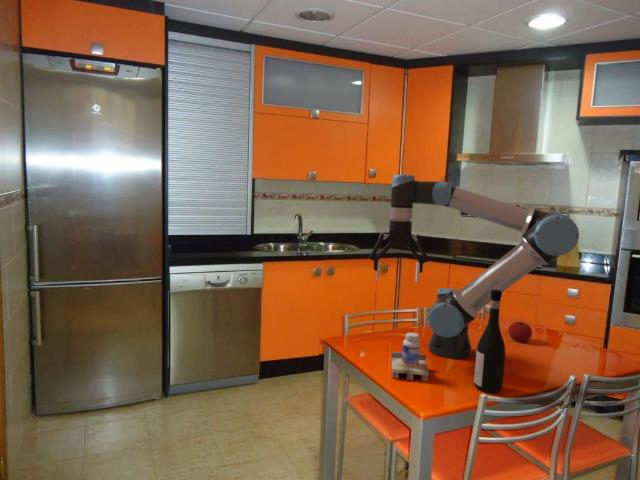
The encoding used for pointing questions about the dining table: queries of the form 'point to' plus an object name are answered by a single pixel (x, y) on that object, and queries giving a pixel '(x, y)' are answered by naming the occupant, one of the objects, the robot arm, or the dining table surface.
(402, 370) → the dock
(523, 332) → the tomato
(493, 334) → the wine bottle
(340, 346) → the dining table surface
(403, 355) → the pill bottle
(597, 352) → the dining table surface
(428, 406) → the dining table surface
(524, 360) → the dining table surface
